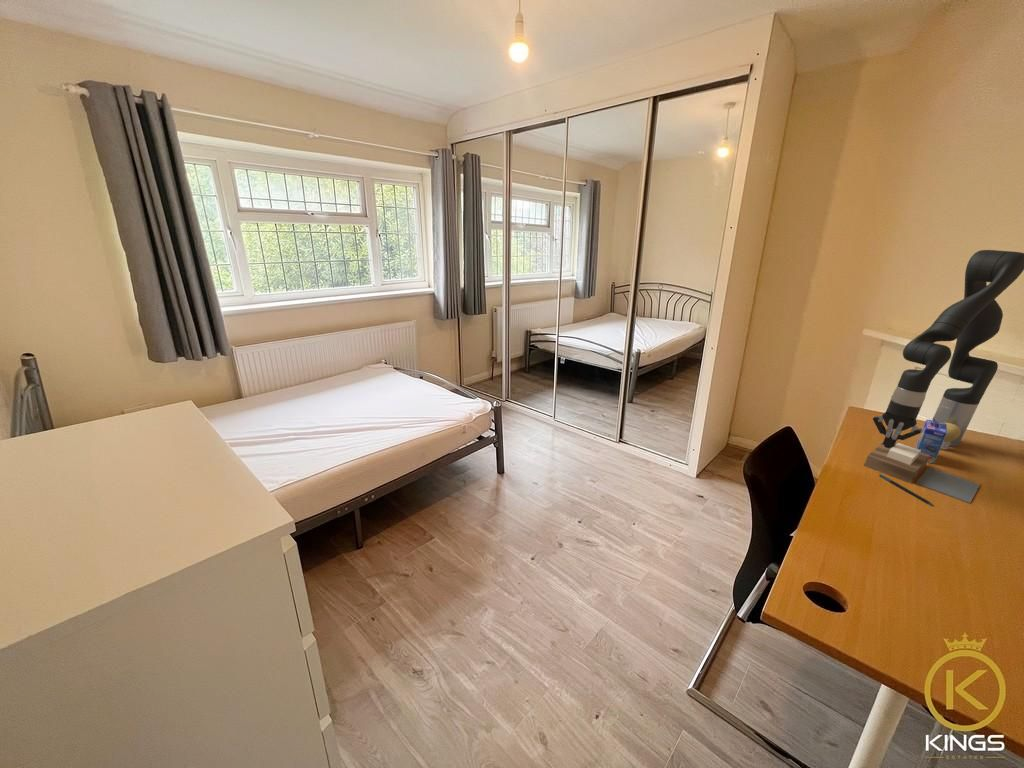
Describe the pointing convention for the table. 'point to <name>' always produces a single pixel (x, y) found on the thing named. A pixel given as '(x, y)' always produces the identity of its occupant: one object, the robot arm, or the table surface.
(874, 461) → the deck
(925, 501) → the pen
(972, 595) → the table surface
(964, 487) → the mat
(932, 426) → the ink cartridge box
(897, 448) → the cream rectangular block
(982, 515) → the table surface
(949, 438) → the light bulb
